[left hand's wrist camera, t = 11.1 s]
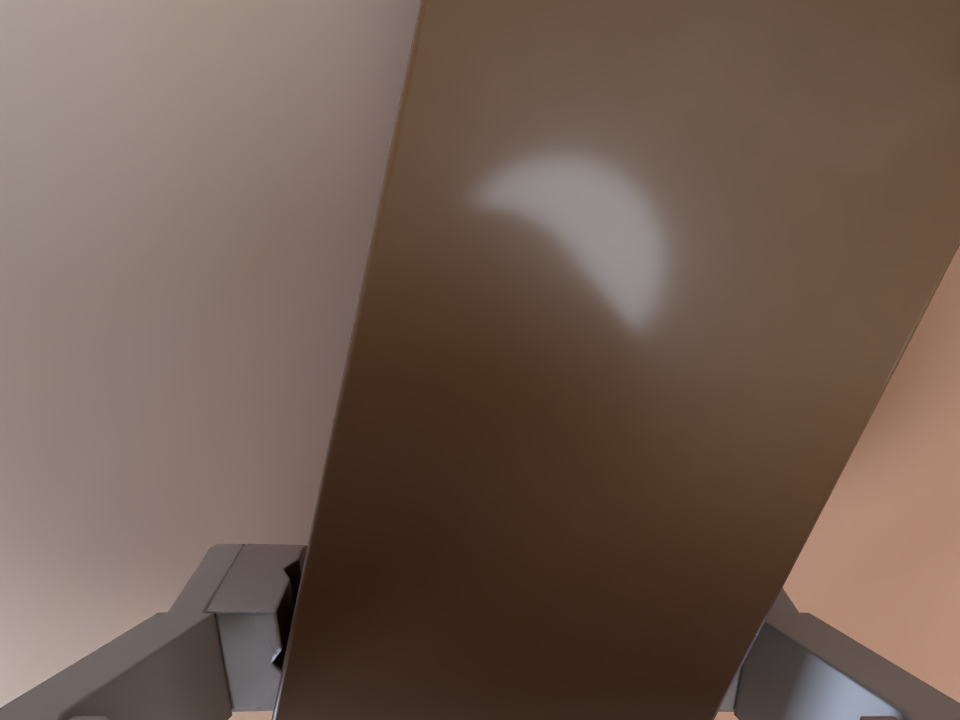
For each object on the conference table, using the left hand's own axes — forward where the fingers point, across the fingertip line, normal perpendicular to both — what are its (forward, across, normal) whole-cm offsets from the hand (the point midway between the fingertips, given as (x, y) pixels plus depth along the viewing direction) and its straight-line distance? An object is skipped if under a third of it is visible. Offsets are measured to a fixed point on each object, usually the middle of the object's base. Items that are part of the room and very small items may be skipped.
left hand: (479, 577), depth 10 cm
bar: (+3, -6, -20) cm, 21 cm away
